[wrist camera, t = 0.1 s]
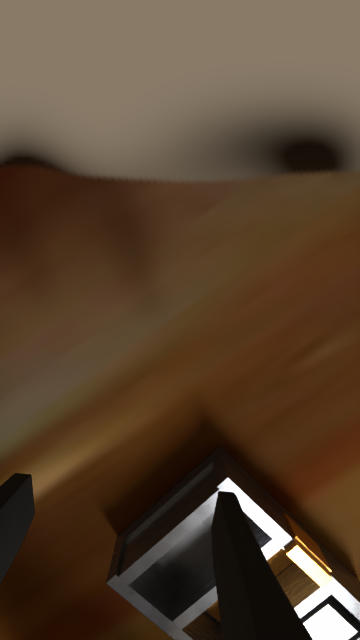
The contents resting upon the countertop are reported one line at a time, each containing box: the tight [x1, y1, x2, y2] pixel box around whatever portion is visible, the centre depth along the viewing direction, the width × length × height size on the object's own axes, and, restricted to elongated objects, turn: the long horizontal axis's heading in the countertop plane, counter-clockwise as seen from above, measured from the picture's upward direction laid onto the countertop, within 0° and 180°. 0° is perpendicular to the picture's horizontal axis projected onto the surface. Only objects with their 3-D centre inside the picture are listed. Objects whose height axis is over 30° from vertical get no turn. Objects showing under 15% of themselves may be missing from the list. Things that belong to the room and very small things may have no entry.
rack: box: [106, 446, 360, 640], centre depth 21 cm, size 12×18×4 cm
